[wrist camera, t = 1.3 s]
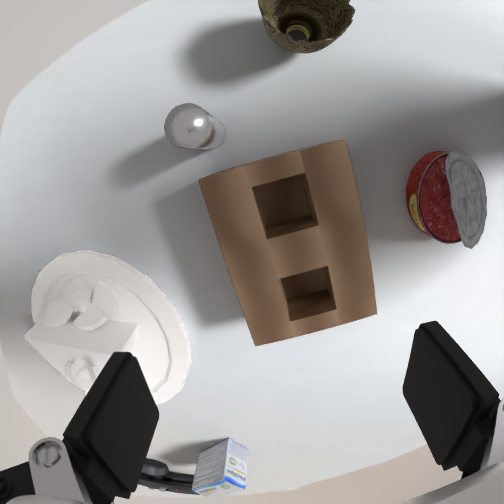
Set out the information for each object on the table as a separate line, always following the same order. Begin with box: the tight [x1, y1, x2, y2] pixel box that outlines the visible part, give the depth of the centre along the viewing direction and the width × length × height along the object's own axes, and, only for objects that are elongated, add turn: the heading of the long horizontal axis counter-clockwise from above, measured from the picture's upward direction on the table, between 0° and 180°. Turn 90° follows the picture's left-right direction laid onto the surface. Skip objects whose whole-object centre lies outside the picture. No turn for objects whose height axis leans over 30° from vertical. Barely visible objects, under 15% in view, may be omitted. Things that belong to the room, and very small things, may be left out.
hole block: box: [199, 140, 377, 346], centre depth 28 cm, size 12×16×6 cm
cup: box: [258, 0, 355, 53], centre depth 20 cm, size 8×7×8 cm
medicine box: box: [192, 438, 248, 499], centre depth 38 cm, size 8×4×9 cm, turn 135°
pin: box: [164, 103, 225, 150], centre depth 23 cm, size 3×3×9 cm
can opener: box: [138, 459, 200, 495], centre depth 44 cm, size 18×7×6 cm, turn 77°
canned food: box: [406, 150, 487, 249], centre depth 26 cm, size 11×10×10 cm
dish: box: [22, 250, 192, 405], centre depth 31 cm, size 25×25×11 cm
